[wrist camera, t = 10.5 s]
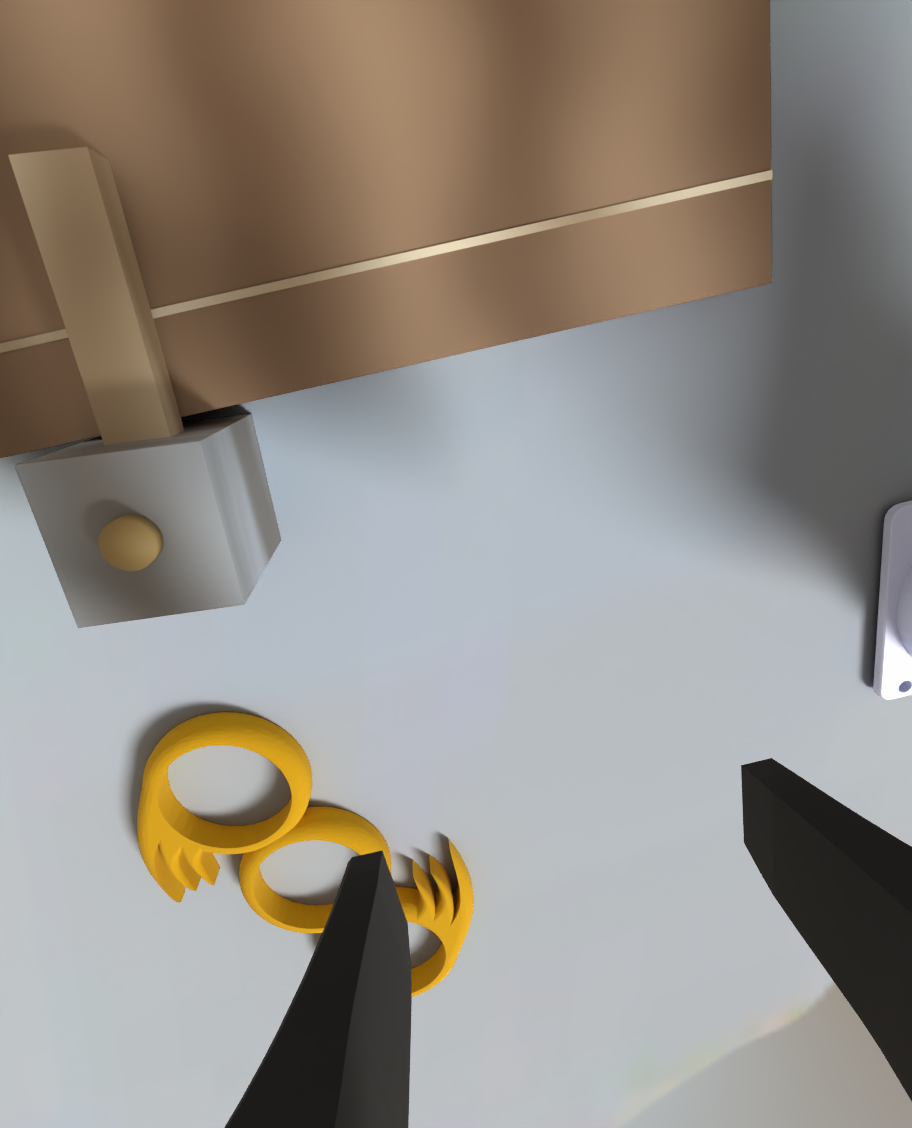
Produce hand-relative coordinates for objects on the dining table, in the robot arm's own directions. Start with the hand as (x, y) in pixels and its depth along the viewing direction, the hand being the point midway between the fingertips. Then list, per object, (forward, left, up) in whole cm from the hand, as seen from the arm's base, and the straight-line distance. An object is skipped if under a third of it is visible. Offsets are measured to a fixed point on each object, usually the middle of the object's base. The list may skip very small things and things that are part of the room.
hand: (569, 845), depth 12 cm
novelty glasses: (+9, +9, -11) cm, 17 cm away
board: (+3, -14, -10) cm, 17 cm away
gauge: (+8, -10, -10) cm, 16 cm away
